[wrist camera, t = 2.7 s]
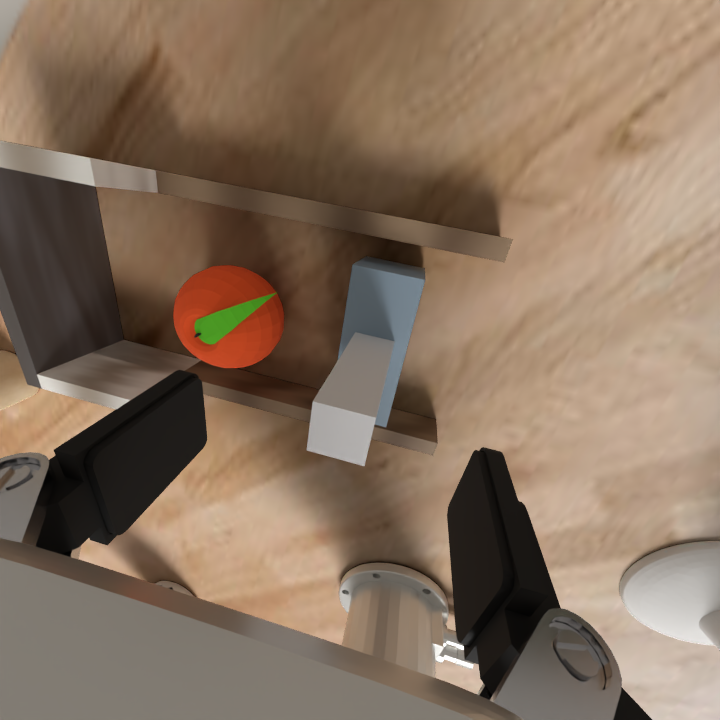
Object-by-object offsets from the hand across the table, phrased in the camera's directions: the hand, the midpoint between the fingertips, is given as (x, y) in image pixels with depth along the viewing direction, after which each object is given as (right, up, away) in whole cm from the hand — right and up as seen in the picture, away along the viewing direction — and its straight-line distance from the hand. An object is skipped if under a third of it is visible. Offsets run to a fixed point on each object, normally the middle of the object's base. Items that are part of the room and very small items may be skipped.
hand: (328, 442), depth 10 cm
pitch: (-6, +7, +13) cm, 16 cm away
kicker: (+3, +5, +13) cm, 14 cm away
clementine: (-7, +7, +14) cm, 17 cm away
